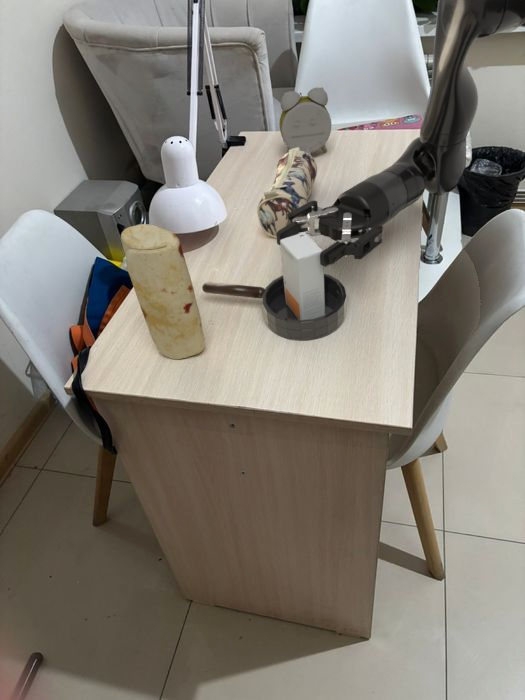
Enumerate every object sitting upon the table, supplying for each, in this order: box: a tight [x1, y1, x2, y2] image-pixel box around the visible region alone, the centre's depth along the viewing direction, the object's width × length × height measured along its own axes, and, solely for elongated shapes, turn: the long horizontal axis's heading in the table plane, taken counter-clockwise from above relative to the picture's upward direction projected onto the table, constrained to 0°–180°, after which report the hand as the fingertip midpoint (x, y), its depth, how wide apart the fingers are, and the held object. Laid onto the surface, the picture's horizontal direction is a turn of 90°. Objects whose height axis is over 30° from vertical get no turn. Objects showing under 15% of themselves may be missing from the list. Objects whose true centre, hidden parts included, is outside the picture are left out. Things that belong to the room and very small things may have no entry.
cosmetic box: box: [279, 232, 325, 320], centre depth 76 cm, size 6×4×12 cm
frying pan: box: [261, 272, 348, 342], centre depth 79 cm, size 13×13×4 cm
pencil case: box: [256, 147, 318, 239], centre depth 101 cm, size 22×8×10 cm, turn 168°
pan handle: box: [201, 281, 265, 300], centre depth 82 cm, size 11×2×2 cm, turn 73°
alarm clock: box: [279, 86, 332, 156], centre depth 118 cm, size 12×7×15 cm, turn 94°
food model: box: [120, 223, 206, 360], centre depth 71 cm, size 10×7×20 cm
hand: (299, 250), depth 72 cm, fingers open, 8 cm apart
